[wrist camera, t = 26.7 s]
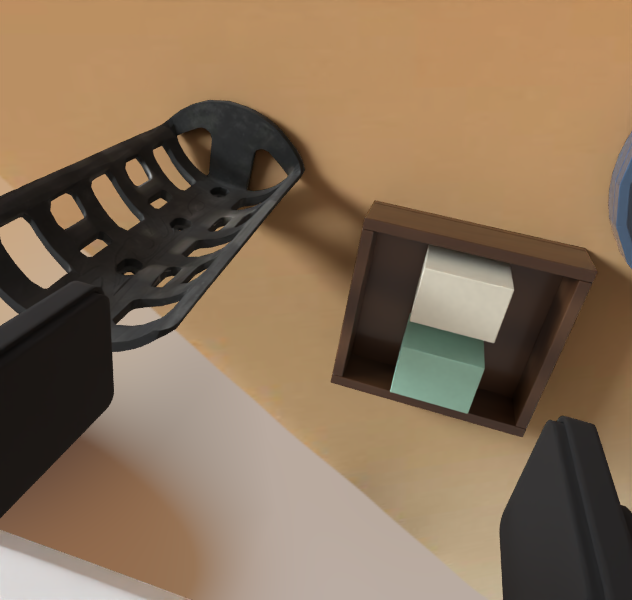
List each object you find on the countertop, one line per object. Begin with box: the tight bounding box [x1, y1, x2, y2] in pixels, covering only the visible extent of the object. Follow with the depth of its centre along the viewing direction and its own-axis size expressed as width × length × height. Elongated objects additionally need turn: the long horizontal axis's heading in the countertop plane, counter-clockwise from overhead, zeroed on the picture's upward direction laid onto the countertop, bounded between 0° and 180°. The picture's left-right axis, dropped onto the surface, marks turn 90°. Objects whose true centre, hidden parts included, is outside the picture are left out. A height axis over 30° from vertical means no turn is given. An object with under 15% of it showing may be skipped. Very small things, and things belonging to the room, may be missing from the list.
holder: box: [0, 100, 305, 352], centre depth 31 cm, size 11×8×20 cm
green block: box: [390, 313, 485, 414], centre depth 39 cm, size 4×6×5 cm
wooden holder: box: [331, 201, 597, 437], centre depth 38 cm, size 14×15×4 cm
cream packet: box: [410, 244, 514, 343], centre depth 36 cm, size 4×6×5 cm
